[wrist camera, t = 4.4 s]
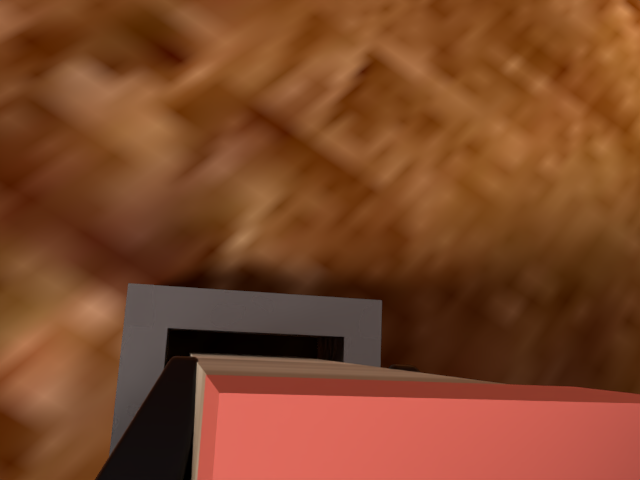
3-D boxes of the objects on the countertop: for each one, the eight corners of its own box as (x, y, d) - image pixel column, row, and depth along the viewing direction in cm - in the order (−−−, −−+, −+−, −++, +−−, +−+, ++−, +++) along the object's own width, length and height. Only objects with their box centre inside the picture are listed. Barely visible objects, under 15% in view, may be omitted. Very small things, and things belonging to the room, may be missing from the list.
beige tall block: (292, 469, 16) (806, 1059, 3) (177, 469, 16) (153, 1262, 2) (298, 354, 17) (741, 404, 4) (187, 349, 16) (220, 393, 3)
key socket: (341, 525, 16) (376, 564, 13) (112, 532, 15) (95, 577, 12) (349, 307, 18) (381, 300, 15) (137, 293, 16) (128, 283, 13)
